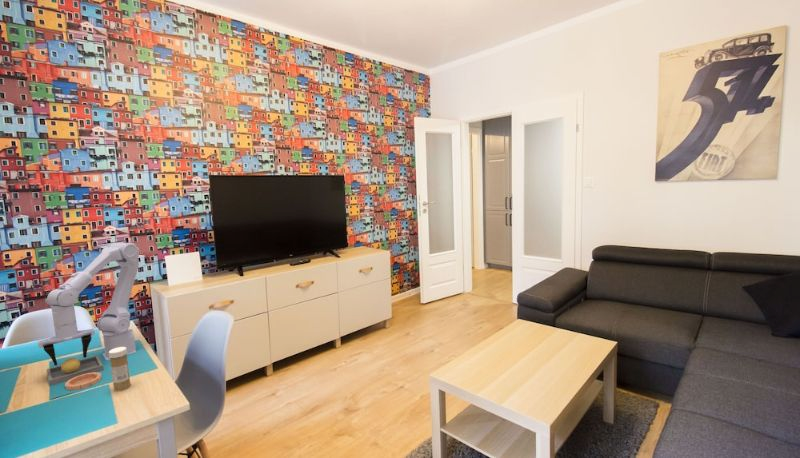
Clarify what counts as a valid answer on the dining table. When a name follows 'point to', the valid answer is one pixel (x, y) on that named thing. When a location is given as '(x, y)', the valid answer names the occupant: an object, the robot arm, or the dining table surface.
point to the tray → (85, 367)
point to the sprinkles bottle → (119, 368)
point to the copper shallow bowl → (83, 381)
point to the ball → (70, 365)
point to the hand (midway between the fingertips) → (70, 360)
